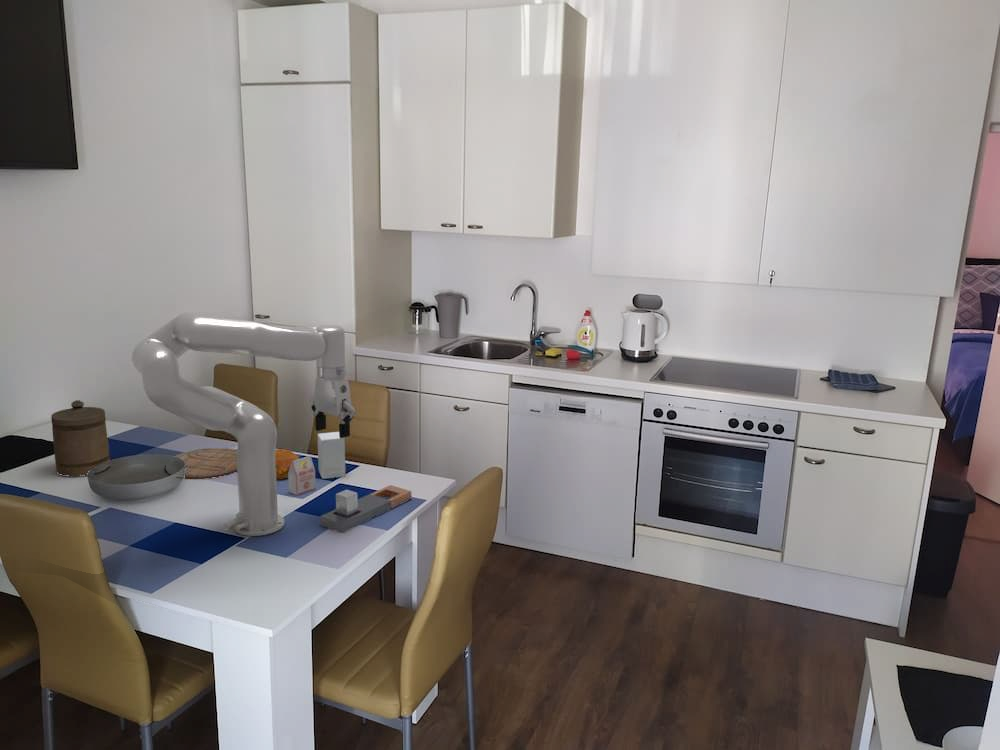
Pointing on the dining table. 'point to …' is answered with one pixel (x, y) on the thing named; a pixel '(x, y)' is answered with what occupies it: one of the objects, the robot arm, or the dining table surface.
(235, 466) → the trivet
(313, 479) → the white printed paper bag
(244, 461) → the robot arm
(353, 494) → the steel peg
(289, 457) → the croissant
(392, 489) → the rail
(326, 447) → the supplement box
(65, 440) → the wooden container
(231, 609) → the dining table surface
